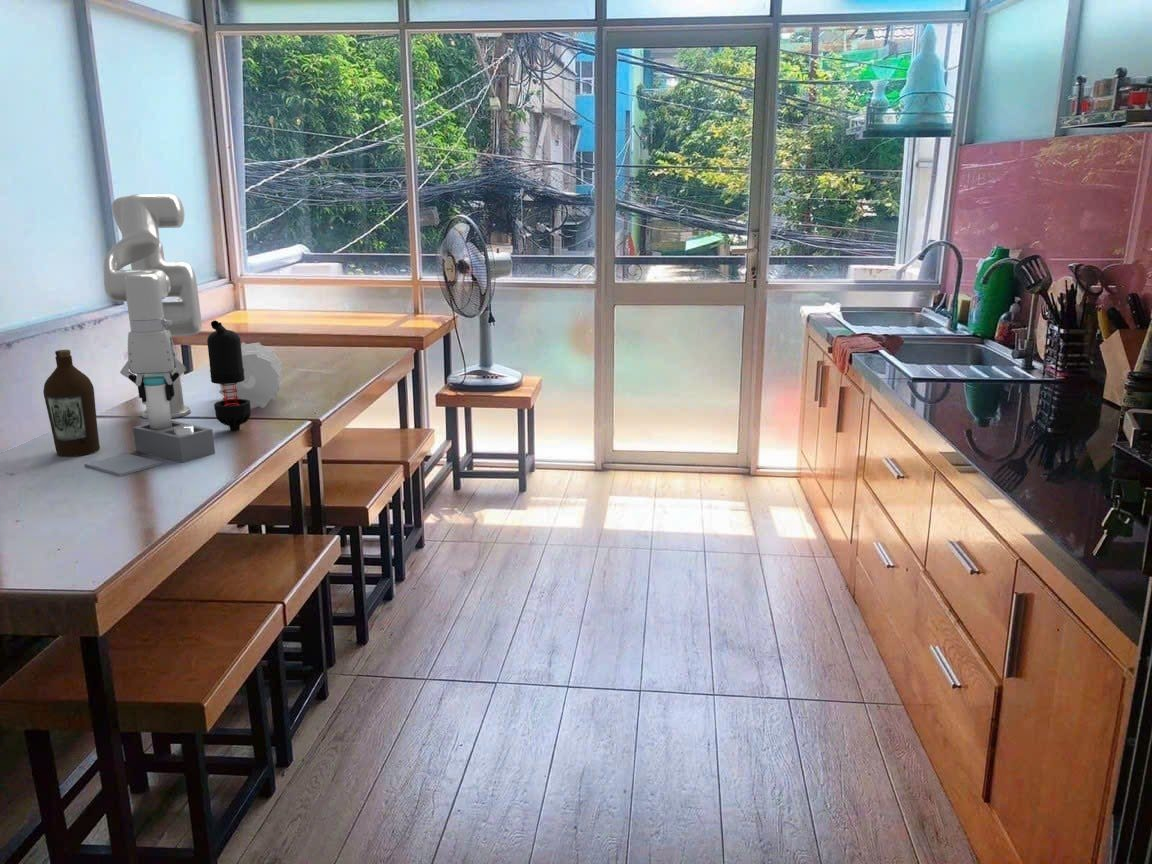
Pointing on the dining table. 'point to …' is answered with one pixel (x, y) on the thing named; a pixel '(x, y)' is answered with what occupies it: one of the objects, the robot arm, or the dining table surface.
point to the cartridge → (157, 402)
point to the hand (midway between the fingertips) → (157, 399)
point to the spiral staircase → (257, 376)
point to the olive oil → (71, 408)
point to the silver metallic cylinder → (183, 430)
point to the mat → (122, 464)
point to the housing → (174, 442)
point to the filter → (227, 375)
